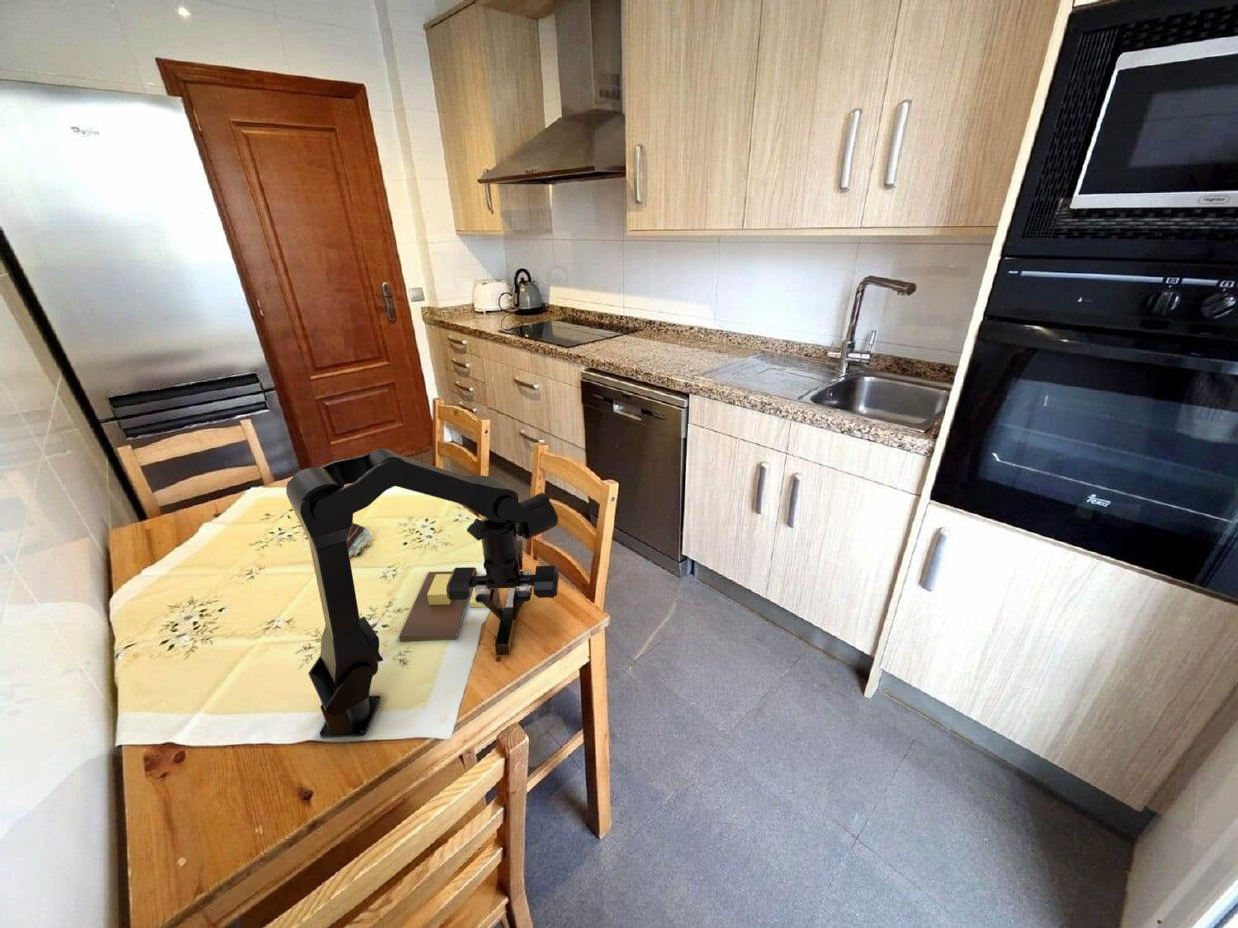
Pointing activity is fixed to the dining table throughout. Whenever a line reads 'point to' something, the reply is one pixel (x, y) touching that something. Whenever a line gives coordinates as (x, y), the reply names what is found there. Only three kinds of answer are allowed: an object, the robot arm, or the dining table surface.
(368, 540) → the chocolate cake
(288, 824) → the dining table surface
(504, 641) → the knife
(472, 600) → the butter slab
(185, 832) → the dining table surface
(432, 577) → the board
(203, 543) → the dining table surface
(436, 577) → the butter block
